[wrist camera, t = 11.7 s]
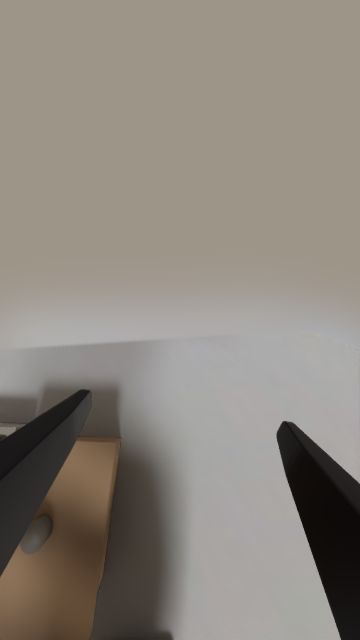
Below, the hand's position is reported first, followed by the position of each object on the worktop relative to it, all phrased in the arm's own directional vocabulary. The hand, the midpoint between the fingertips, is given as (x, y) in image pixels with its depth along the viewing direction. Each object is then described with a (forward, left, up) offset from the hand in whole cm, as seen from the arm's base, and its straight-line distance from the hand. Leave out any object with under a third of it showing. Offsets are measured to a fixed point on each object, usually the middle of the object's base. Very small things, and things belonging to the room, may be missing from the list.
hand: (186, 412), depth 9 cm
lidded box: (-8, +9, -14) cm, 18 cm away
